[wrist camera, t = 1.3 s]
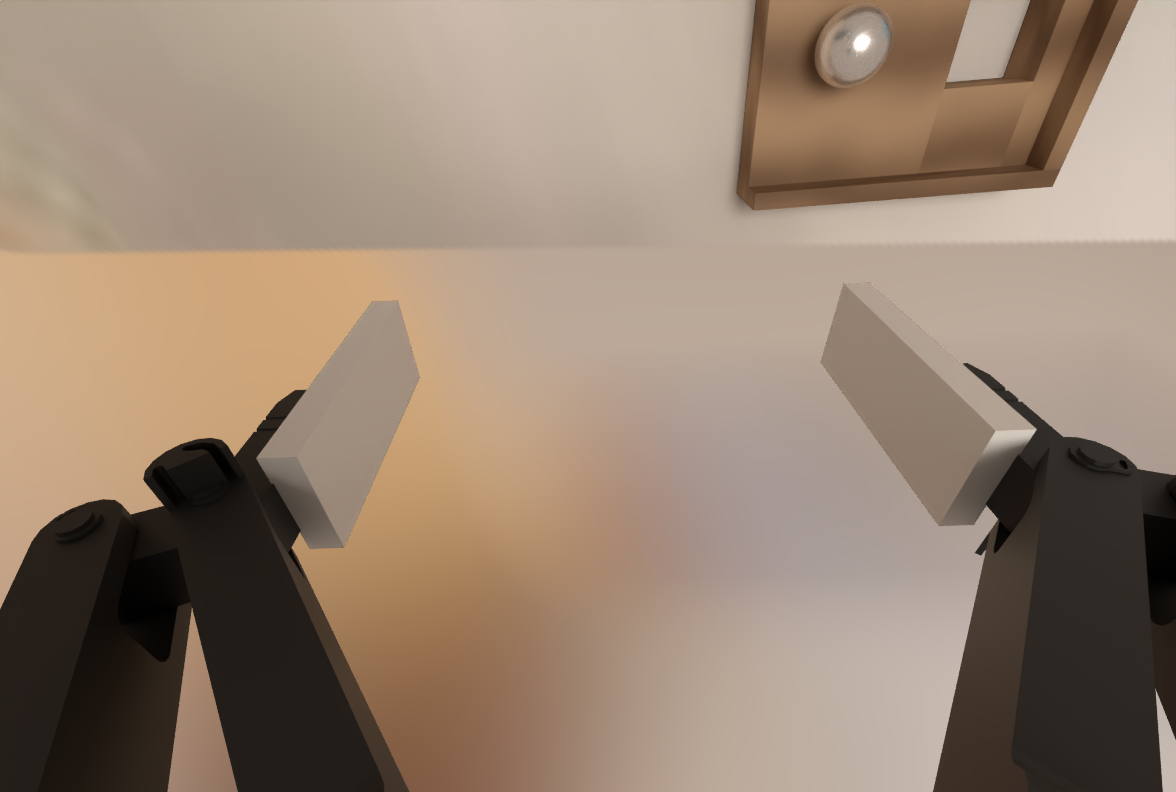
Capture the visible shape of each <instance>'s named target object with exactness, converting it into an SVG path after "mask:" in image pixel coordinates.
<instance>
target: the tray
mask: <svg viewBox="0 0 1176 792" xmlns="http://www.w3.org/2000/svg"><path fill="white" fill-rule="evenodd" d="M970 1H971V0H756V6H755V16H754V26H753V36H752V46H751V56H750V66H749V76H748V86H747V96H746V106H745V116H744V126H743V136H742V146H741V156H740V165H739V175H738V185H737V194H738V195H739V196H740V197H741V198H742V199H743V200H744V201H745V202H746V203H747V204H748V205H749V206H750V207H751V208H752V209H753V210H765V209H778V208H790V207H803V206H816V205H828V204H841V203H853V202H866V201H879V200H891V199H904V198H916V197H929V196H941V195H954V194H967V193H979V192H992V191H1004V190H1017V189H1029V188H1042V187H1053V184H1054V182H1055V180H1056V178H1057V176H1058V174H1059V171H1060V169H1061V167H1062V165H1063V163H1064V160H1065V158H1066V156H1067V154H1068V152H1069V150H1070V147H1071V145H1072V143H1073V141H1074V139H1075V136H1076V134H1077V132H1078V130H1079V128H1080V126H1081V123H1082V121H1083V119H1084V117H1085V115H1086V113H1087V110H1088V108H1089V106H1090V104H1091V102H1092V99H1093V97H1094V95H1095V93H1096V91H1097V89H1098V86H1099V84H1100V82H1101V80H1102V78H1103V76H1104V73H1105V71H1106V69H1107V67H1108V65H1109V62H1110V60H1111V58H1112V56H1113V54H1114V52H1115V49H1116V47H1117V45H1118V43H1119V41H1120V38H1121V36H1122V34H1123V32H1124V30H1125V28H1126V25H1127V23H1128V21H1129V19H1130V17H1131V15H1132V12H1133V10H1134V8H1135V6H1136V4H1137V1H1138V0H1031V2H1030V5H1029V8H1028V11H1027V13H1026V16H1025V19H1024V22H1023V25H1022V27H1021V30H1020V33H1019V36H1018V39H1017V41H1016V44H1015V47H1014V50H1013V52H1012V55H1011V58H1010V61H1009V64H1008V66H1007V69H1006V72H1005V75H1004V78H993V79H982V80H970V81H958V82H947V83H946V80H947V77H948V74H949V70H950V67H951V64H952V60H953V57H954V54H955V50H956V47H957V44H958V41H959V37H960V34H961V31H962V27H963V24H964V21H965V17H966V14H967V11H968V7H969V4H970ZM862 2H867V3H873V4H876V5H878V6H880V7H882V8H883V9H884V10H885V11H886V12H887V13H888V15H889V16H890V18H891V20H892V23H893V28H894V40H893V45H892V48H891V51H890V54H889V56H888V58H887V60H886V61H885V63H884V65H883V66H882V67H881V68H880V70H879V71H878V72H877V73H876V74H875V75H874V76H873V77H871V78H870V79H869V80H867V81H865V82H864V83H862V84H860V85H857V86H854V87H850V88H838V87H834V86H831V85H829V84H827V83H826V82H825V81H824V80H823V79H822V78H821V77H820V75H819V74H818V72H817V69H816V66H815V47H816V43H817V40H818V38H819V35H820V33H821V31H822V30H823V28H824V27H825V25H826V24H827V23H828V21H829V20H830V19H831V18H832V17H833V16H834V15H835V14H836V13H838V12H839V11H841V10H842V9H844V8H846V7H848V6H850V5H853V4H856V3H862Z"/></svg>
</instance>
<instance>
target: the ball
mask: <svg viewBox="0 0 1176 792" xmlns="http://www.w3.org/2000/svg"><path fill="white" fill-rule="evenodd" d="M893 40H894V28H893V23H892V20H891V18H890V16H889V15H888V13H887V12H886V11H885V10H884V9H883V8H882V7H880V6H878V5H876V4H873V3H867V2H862V3H856V4H853V5H850V6H848V7H846V8H844V9H842V10H841V11H839V12H838V13H836V14H835V15H834V16H833V17H832V18H831V19H830V20H829V21H828V23H827V24H826V25H825V27H824V28H823V30H822V31H821V33H820V35H819V38H818V40H817V43H816V47H815V66H816V69H817V72H818V74H819V75H820V77H821V78H822V79H823V80H824V81H825V82H826V83H827V84H829V85H831V86H834V87H838V88H850V87H854V86H857V85H860V84H862V83H864V82H865V81H867V80H869V79H870V78H871V77H873V76H874V75H875V74H876V73H877V72H878V71H879V70H880V68H881V67H882V66H883V65H884V63H885V61H886V60H887V58H888V56H889V54H890V51H891V48H892V45H893Z"/></svg>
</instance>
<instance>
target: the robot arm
mask: <svg viewBox="0 0 1176 792" xmlns="http://www.w3.org/2000/svg"><path fill="white" fill-rule="evenodd" d="M821 364H822V365H823V366H824V368H825V369H826V371H827V372H828V373H829V375H830V376H831V377H832V379H833V380H834V382H835V383H836V384H837V386H838V387H839V389H840V390H841V391H842V393H843V394H844V395H845V397H846V398H847V400H848V401H849V402H850V404H851V405H852V407H853V408H854V409H855V411H856V412H857V413H858V415H859V416H860V418H861V419H862V420H863V422H864V423H865V425H866V426H867V427H868V429H869V430H870V431H871V433H872V434H873V436H874V437H875V438H876V440H877V441H878V443H879V444H880V445H881V447H882V448H883V450H884V451H885V452H886V454H887V455H888V456H889V458H890V459H891V461H892V462H893V463H894V465H895V466H896V467H897V469H898V470H899V472H900V473H901V474H902V476H903V477H904V479H905V480H906V481H907V483H908V484H909V485H910V487H911V488H912V490H913V491H914V492H915V494H916V495H917V497H918V498H919V499H920V501H921V502H922V504H923V505H924V506H925V508H926V509H927V510H928V512H929V513H930V515H931V516H932V517H933V519H934V520H935V521H936V523H937V524H938V526H952V525H953V526H954V525H974V524H975V522H976V520H977V519H978V518H979V516H980V515H981V513H982V511H983V510H984V508H985V507H986V505H987V506H988V508H989V509H990V510H991V511H992V512H993V513H994V514H995V516H996V517H997V518H998V521H997V522H996V524H995V525H994V526H993V528H992V529H991V531H990V532H989V534H988V535H987V536H986V538H985V539H984V541H983V542H982V544H981V545H980V547H979V548H978V549H977V551H976V552H975V553H976V554H979V555H982V554H983V552H984V551H985V550H986V553H985V558H984V562H983V567H982V571H981V576H980V580H979V585H978V590H977V594H976V599H975V603H974V608H973V612H972V617H971V622H970V626H969V631H968V635H967V640H966V644H965V649H964V653H963V658H962V663H961V667H960V671H959V676H958V681H957V685H956V690H955V695H954V699H953V703H952V708H951V713H950V717H949V722H948V726H947V731H946V736H945V740H944V744H943V749H942V753H941V758H940V763H939V767H938V772H937V776H936V781H935V785H934V790H933V792H1163V789H1162V775H1161V761H1160V747H1159V734H1158V720H1157V705H1156V691H1157V693H1158V696H1159V698H1160V701H1161V703H1162V706H1163V709H1164V711H1165V714H1166V716H1167V719H1168V721H1169V723H1170V726H1171V729H1172V731H1173V734H1174V736H1175V739H1176V475H1169V474H1163V473H1157V472H1151V471H1145V470H1140V469H1137V467H1136V466H1135V465H1134V464H1133V463H1132V462H1131V461H1130V460H1129V459H1128V458H1127V457H1126V456H1124V455H1122V454H1121V453H1119V452H1117V451H1115V450H1114V449H1112V448H1110V447H1107V446H1105V445H1102V444H1100V443H1097V442H1095V441H1091V440H1086V439H1082V438H1077V437H1063V436H1061V435H1060V434H1059V433H1058V432H1057V431H1056V430H1054V429H1053V428H1052V427H1051V426H1049V425H1048V424H1047V423H1046V422H1045V421H1044V420H1042V419H1041V418H1040V417H1039V416H1038V415H1037V414H1035V413H1034V412H1033V411H1032V410H1031V409H1029V408H1028V407H1027V406H1026V405H1025V404H1024V403H1023V402H1018V398H1016V397H1015V396H1014V395H1013V394H1012V393H1011V392H1009V391H1005V387H1004V386H1002V385H1001V384H1000V383H999V382H998V381H997V380H995V379H994V378H993V377H992V376H991V375H989V374H987V373H985V372H984V371H981V370H979V369H978V368H976V367H974V366H972V365H970V364H968V363H964V364H963V363H961V362H960V361H959V360H957V359H956V358H955V357H954V356H953V355H952V354H951V353H949V352H948V351H947V350H946V349H945V348H944V347H943V346H942V345H940V344H939V343H938V342H937V341H936V340H935V339H933V338H932V337H931V336H930V335H929V334H928V333H927V332H926V331H924V330H923V329H922V328H921V327H920V326H919V325H918V324H916V323H915V322H914V321H913V320H912V319H911V318H910V317H909V316H907V315H906V314H905V313H904V312H903V311H902V310H900V309H899V308H898V307H897V306H896V305H895V304H894V303H893V302H892V301H890V300H889V299H888V298H887V297H886V296H885V295H883V294H882V293H881V292H880V291H879V290H878V289H877V288H876V287H874V286H873V285H872V284H871V283H870V282H864V283H843V287H842V290H841V294H840V297H839V301H838V304H837V308H836V311H835V314H834V318H833V321H832V325H831V328H830V332H829V335H828V338H827V342H826V346H825V349H824V352H823V356H822V359H821ZM419 378H420V377H419V373H418V369H417V366H416V362H415V359H414V355H413V352H412V348H411V345H410V341H409V338H408V334H407V331H406V328H405V324H404V320H403V317H402V313H401V310H400V306H399V303H398V301H376V302H371V304H370V305H369V306H368V308H367V309H366V310H365V312H364V313H363V315H362V316H361V317H360V319H359V320H358V321H357V323H356V324H355V325H354V327H353V328H352V329H351V331H350V332H349V334H348V335H347V336H346V338H345V339H344V340H343V342H342V343H341V344H340V346H339V347H338V348H337V350H336V351H335V353H334V354H333V355H332V357H331V358H330V359H329V361H328V362H327V363H326V365H325V366H324V367H323V369H322V370H321V371H320V373H319V374H318V375H317V377H316V378H315V379H314V381H313V382H312V384H311V385H310V386H309V388H308V389H307V390H295V391H293V392H292V393H290V394H289V395H288V396H286V397H285V398H283V399H282V400H281V401H279V402H278V403H277V404H276V405H275V406H274V408H273V409H272V410H271V411H270V413H269V414H268V415H267V416H266V420H263V421H262V423H261V424H260V425H259V427H258V428H257V432H254V433H253V434H252V435H251V437H250V438H249V439H248V440H247V442H246V443H245V444H244V445H243V447H242V448H241V449H240V451H239V452H238V453H237V454H236V456H235V457H234V455H233V454H232V452H231V451H230V449H229V447H228V446H227V445H226V444H225V443H224V442H223V441H222V440H219V439H213V438H205V439H197V440H193V441H190V442H187V443H183V444H180V445H178V446H176V447H174V448H172V449H171V450H168V451H166V452H165V453H164V454H162V455H161V456H160V457H158V458H157V459H156V460H154V461H153V462H152V463H151V464H150V466H149V467H148V468H147V469H146V470H145V474H144V481H145V483H146V484H147V485H148V486H149V488H150V489H151V490H152V491H153V493H154V494H155V495H156V496H157V498H158V499H159V500H160V501H161V502H162V504H163V505H164V506H162V507H158V508H154V509H150V510H147V511H143V512H139V513H135V514H131V515H130V513H129V512H128V511H127V510H126V509H125V508H124V507H123V506H122V505H121V504H120V503H118V502H117V501H116V500H104V499H103V500H98V501H93V502H88V503H85V504H83V505H80V506H78V507H75V508H72V509H70V510H68V511H66V512H65V513H63V514H61V515H59V516H58V517H56V518H54V519H53V520H52V521H51V522H50V523H48V524H47V525H46V526H45V527H44V528H42V529H41V530H40V531H39V533H38V534H37V535H36V537H35V538H34V539H33V541H32V543H31V545H30V547H29V549H28V551H27V553H26V555H25V557H24V560H23V562H22V564H21V566H20V568H19V570H18V572H17V575H16V577H15V579H14V581H13V583H12V585H11V587H10V590H9V592H8V594H7V596H6V598H5V600H4V602H3V605H2V607H1V609H0V792H167V790H168V783H169V775H170V768H171V760H172V752H173V745H174V738H175V730H176V722H177V715H178V707H179V699H180V692H181V685H182V677H183V669H184V662H185V654H186V647H187V640H188V632H189V625H190V617H191V610H192V608H193V613H194V617H195V621H196V625H197V629H198V633H199V636H200V641H201V645H202V649H203V653H204V657H205V661H206V665H207V669H208V673H209V677H210V681H211V685H212V689H213V693H214V697H215V701H216V705H217V709H218V713H219V717H220V721H221V726H222V729H223V734H224V738H225V742H226V746H227V750H228V753H229V758H230V762H231V766H232V770H233V774H234V778H235V782H236V786H237V790H238V792H409V790H408V788H407V786H406V784H405V782H404V780H403V777H402V775H401V773H400V771H399V769H398V767H397V765H396V763H395V761H394V759H393V757H392V755H391V752H390V750H389V748H388V746H387V744H386V742H385V740H384V738H383V736H382V734H381V732H380V729H379V727H378V725H377V723H376V721H375V719H374V717H373V715H372V713H371V711H370V709H369V706H368V704H367V702H366V700H365V698H364V696H363V694H362V692H361V690H360V688H359V685H358V683H357V681H356V679H355V677H354V675H353V673H352V671H351V669H350V667H349V665H348V663H347V660H346V658H345V656H344V654H343V652H342V650H341V649H340V646H339V644H338V642H337V639H336V637H335V635H334V633H333V631H332V629H331V627H330V625H329V623H328V621H327V619H326V616H325V614H324V612H323V610H322V608H321V606H320V604H319V602H318V600H317V598H316V595H315V594H314V591H313V589H312V587H311V585H310V583H309V581H308V579H307V577H306V575H305V572H304V570H303V568H302V566H301V564H300V562H299V560H298V558H297V556H296V554H295V553H294V551H293V549H292V548H291V547H292V545H293V544H294V542H295V540H296V538H297V536H298V534H299V533H301V535H302V537H303V538H304V540H305V541H306V543H307V545H308V547H309V548H310V549H316V548H317V549H318V548H344V547H345V545H346V542H347V540H348V538H349V536H350V533H351V531H352V529H353V527H354V524H355V522H356V520H357V518H358V515H359V513H360V511H361V509H362V506H363V504H364V502H365V500H366V497H367V495H368V493H369V491H370V488H371V486H372V484H373V482H374V479H375V477H376V475H377V473H378V470H379V468H380V466H381V464H382V462H383V459H384V456H385V455H386V452H387V450H388V448H389V446H390V444H391V441H392V439H393V437H394V434H395V432H396V430H397V427H398V426H399V423H400V421H401V419H402V416H403V414H404V412H405V410H406V408H407V405H408V403H409V401H410V399H411V396H412V394H413V392H414V390H415V387H416V385H417V383H418V381H419ZM1155 688H1156V691H1155Z"/></svg>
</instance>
